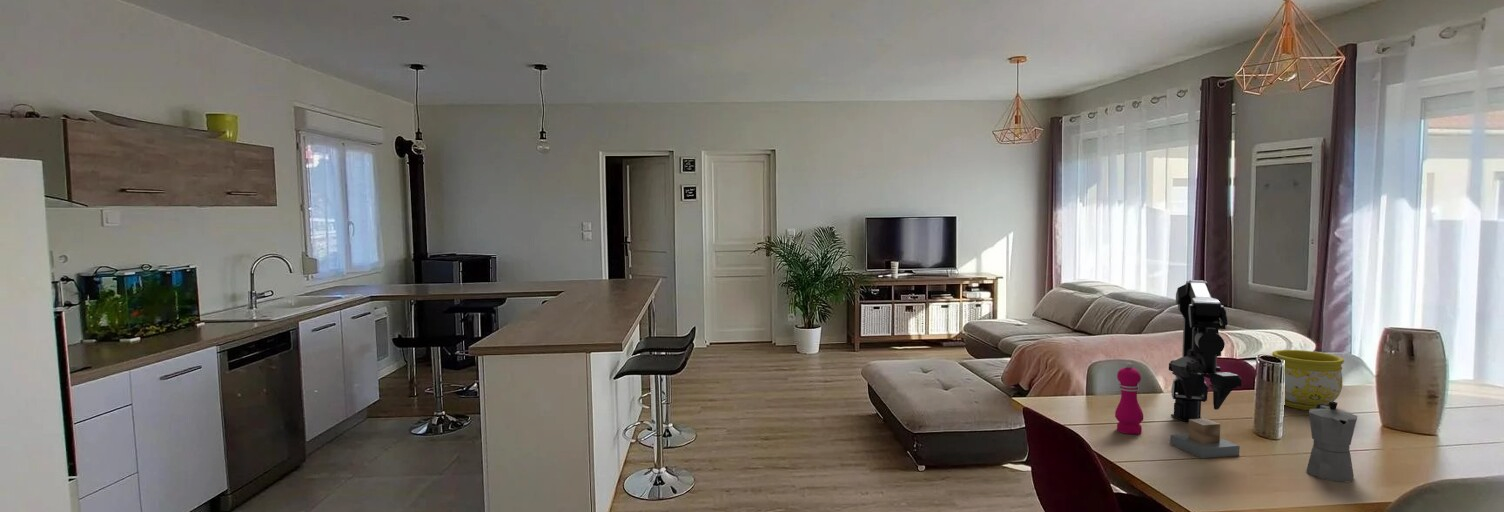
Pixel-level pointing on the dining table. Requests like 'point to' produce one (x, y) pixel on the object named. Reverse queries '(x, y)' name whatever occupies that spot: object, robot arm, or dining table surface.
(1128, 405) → the pepper mill
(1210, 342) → the robot arm
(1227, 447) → the slate plinth
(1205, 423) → the walnut cube
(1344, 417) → the coffeepot
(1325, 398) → the flowerpot
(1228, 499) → the dining table surface
